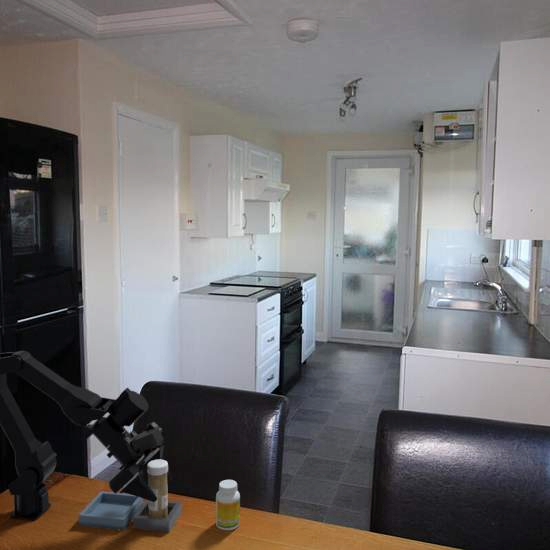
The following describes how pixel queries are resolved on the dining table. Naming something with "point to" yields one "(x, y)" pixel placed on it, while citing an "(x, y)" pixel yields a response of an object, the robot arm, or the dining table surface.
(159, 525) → the bottle holder
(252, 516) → the dining table surface
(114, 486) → the robot arm
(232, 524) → the supplement bottle
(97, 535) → the dining table surface
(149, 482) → the sprinkles bottle
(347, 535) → the dining table surface
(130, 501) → the tray
